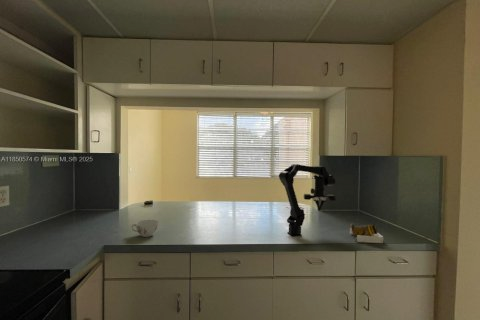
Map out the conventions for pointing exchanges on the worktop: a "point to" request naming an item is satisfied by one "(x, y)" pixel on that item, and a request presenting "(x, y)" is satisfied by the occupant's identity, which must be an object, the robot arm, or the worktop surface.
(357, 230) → the condiment
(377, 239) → the corral
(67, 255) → the worktop surface
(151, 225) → the teacup
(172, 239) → the worktop surface
